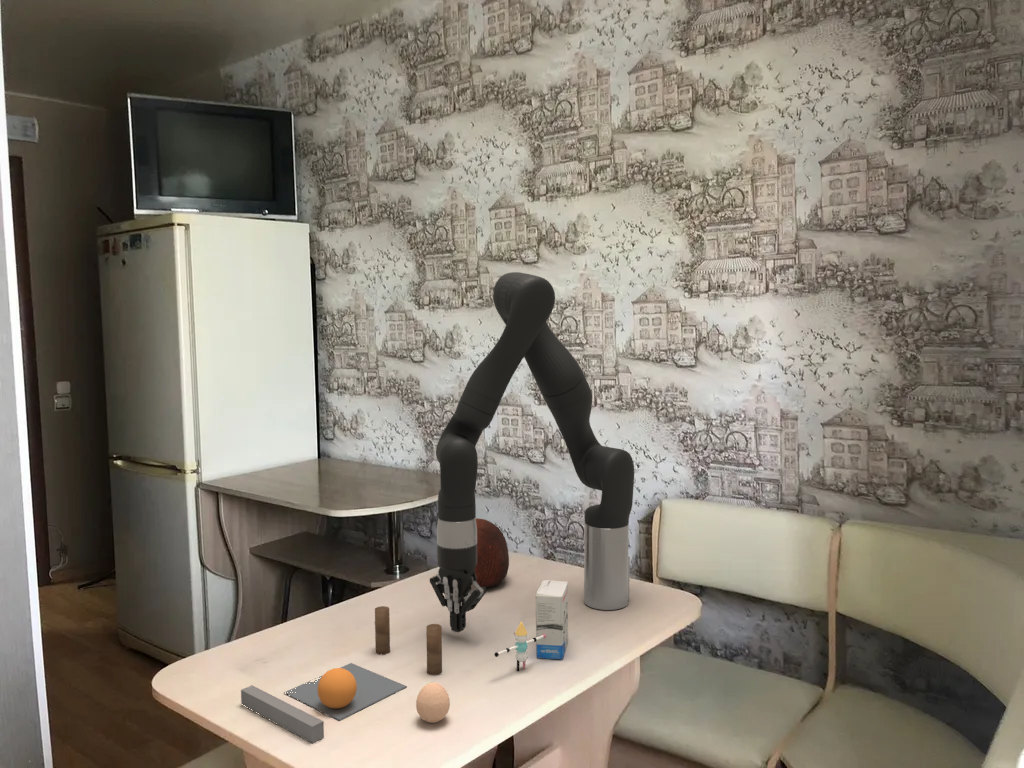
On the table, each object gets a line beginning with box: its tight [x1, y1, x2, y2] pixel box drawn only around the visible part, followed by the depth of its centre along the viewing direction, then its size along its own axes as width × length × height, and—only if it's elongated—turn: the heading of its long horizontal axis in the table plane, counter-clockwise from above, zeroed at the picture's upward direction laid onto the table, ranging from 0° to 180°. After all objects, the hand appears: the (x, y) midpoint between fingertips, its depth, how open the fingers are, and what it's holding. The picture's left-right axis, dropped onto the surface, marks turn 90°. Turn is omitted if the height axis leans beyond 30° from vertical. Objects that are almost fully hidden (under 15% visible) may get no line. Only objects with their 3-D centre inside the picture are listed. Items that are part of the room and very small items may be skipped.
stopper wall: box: [240, 684, 325, 744], centre depth 124 cm, size 2×18×2 cm, turn 51°
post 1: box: [374, 605, 391, 655], centre depth 148 cm, size 3×3×8 cm
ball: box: [318, 667, 357, 709], centre depth 128 cm, size 6×6×6 cm
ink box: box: [535, 579, 569, 661], centre depth 149 cm, size 9×5×12 cm, turn 169°
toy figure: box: [493, 620, 546, 672], centre depth 141 cm, size 12×2×9 cm, turn 133°
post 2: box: [425, 623, 443, 676], centre depth 140 cm, size 3×3×8 cm
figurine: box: [475, 518, 510, 588], centre depth 184 cm, size 14×16×15 cm
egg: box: [415, 682, 451, 724], centre depth 124 cm, size 5×5×6 cm
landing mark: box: [283, 662, 407, 722], centre depth 134 cm, size 14×14×1 cm
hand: (457, 630), depth 154 cm, fingers closed
